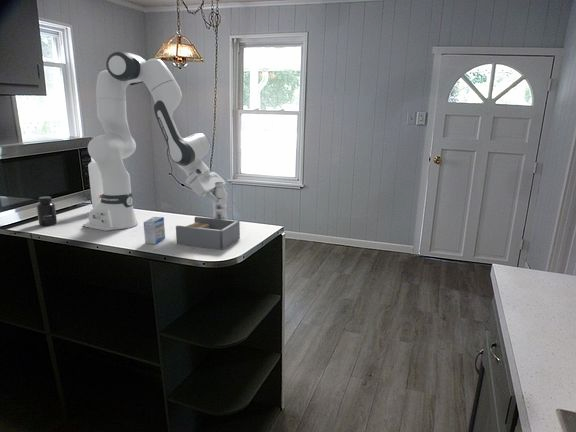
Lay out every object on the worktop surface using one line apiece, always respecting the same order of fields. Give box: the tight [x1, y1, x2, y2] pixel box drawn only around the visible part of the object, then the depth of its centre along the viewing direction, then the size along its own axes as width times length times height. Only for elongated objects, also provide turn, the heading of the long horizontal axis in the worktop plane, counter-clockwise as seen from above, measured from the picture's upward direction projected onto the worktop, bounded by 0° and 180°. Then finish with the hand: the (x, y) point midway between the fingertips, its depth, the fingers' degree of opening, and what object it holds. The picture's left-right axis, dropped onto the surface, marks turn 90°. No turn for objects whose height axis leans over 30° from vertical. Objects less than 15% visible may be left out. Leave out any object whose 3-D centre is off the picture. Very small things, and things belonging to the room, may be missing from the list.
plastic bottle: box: [211, 182, 229, 220], centre depth 170 cm, size 6×7×20 cm
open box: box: [175, 216, 241, 250], centre depth 156 cm, size 19×15×7 cm
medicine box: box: [143, 216, 166, 245], centre depth 156 cm, size 8×4×9 cm, turn 170°
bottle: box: [87, 156, 103, 209], centre depth 197 cm, size 8×8×28 cm
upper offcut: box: [186, 222, 209, 229], centre depth 158 cm, size 6×9×3 cm, turn 153°
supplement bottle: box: [36, 195, 58, 227], centre depth 175 cm, size 7×7×12 cm
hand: (221, 198), depth 170 cm, fingers open, 8 cm apart
